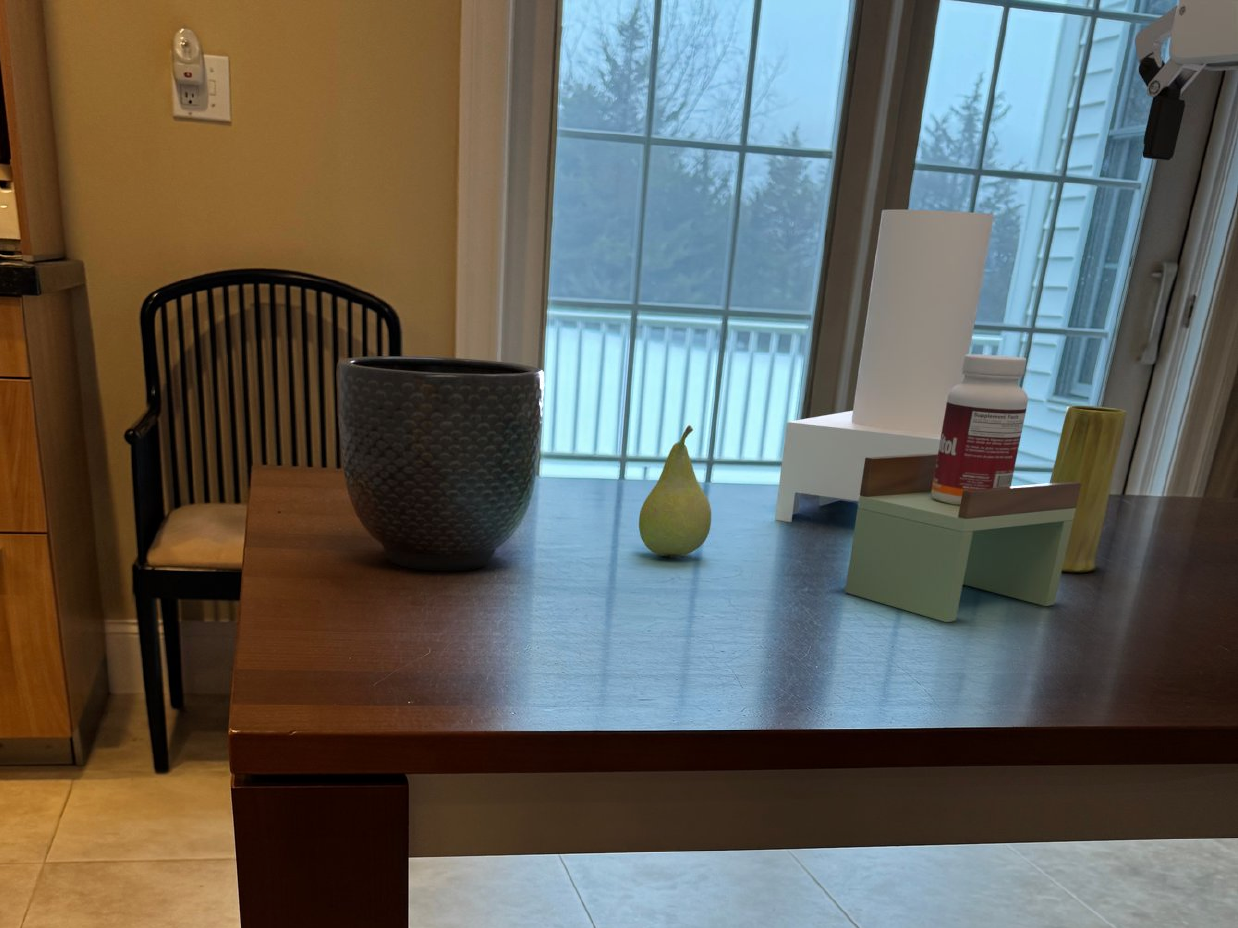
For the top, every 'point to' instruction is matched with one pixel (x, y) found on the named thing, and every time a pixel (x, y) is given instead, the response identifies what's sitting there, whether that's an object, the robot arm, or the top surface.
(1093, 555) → the vase
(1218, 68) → the robot arm
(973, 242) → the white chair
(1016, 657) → the top surface
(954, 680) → the top surface
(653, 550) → the fruit
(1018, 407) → the pill bottle
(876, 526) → the stand
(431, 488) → the planter
